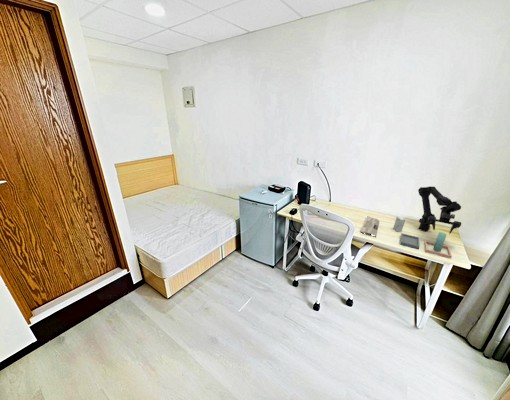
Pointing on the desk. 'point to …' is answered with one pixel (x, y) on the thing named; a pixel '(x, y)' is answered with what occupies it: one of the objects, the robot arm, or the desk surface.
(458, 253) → the desk surface
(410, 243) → the tray
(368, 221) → the newspaper
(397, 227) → the skincare box
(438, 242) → the canister
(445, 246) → the pink square frame
